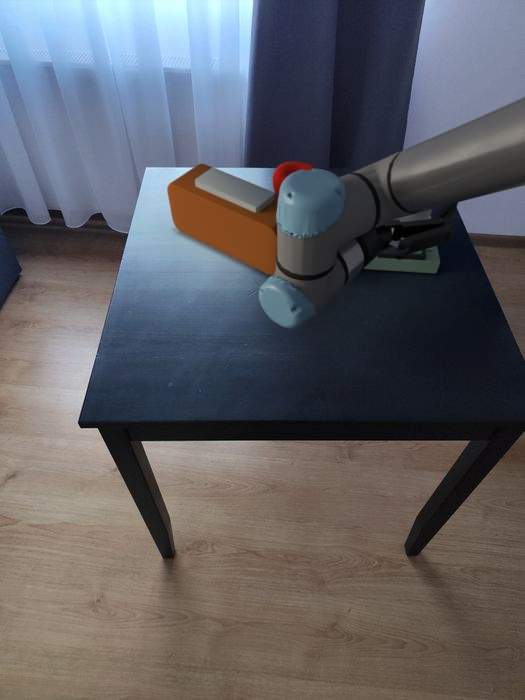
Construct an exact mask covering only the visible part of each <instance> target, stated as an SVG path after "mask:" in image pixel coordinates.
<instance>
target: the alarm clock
mask: <svg viewBox="0 0 525 700" xmlns="http://www.w3.org/2000/svg"><path fill="white" fill-rule="evenodd" d="M166 190H167V197H168V203H169V208H170V214H171V219H172V221H173V222H172V223H173V224H174V226H175V228H176V229H177V230H178V231H179V232H181V233H183V234H185V235H187V236H188V237H190V238H193V239H195V240H196V241H199V242H201V243H203V244H205V245H206V246H209V247H211V248H213V249H215V250H217V251H219V252H222V253H223V254H225V255H227V256H229V257H232V258H234V259H235V260H238V261H240V262H242V263H244V264H246V265H248V266H250V267H252V268H254V269H256V270H258V271H260V272H262V273H264V274H266V275H269V276H272V275H274V273H275V271H276V257H277V252H278V246H277V219H276V213H277V206H278V198H279V194H276V193H275V191H271V190H270V189H268V188H264V187H262V186H260V185H258V184H255V183H252V182H250V181H248V180H245V179H244V178H243V179H242V178H240V177H237V176H235V175H233V174H230V173H228V172H226V171H223V170H221V169H218V168H216V167H213V166H211V165H208V164H205V163H199V164H196V165H195V166H194V167H192V168H190V169H189V170H188V171H186V172H185V173H183V174H182V175H180V176H179V177H177V178H176V179H174V180H173V181H171V182H169V183H168V185H167V188H166Z"/></svg>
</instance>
